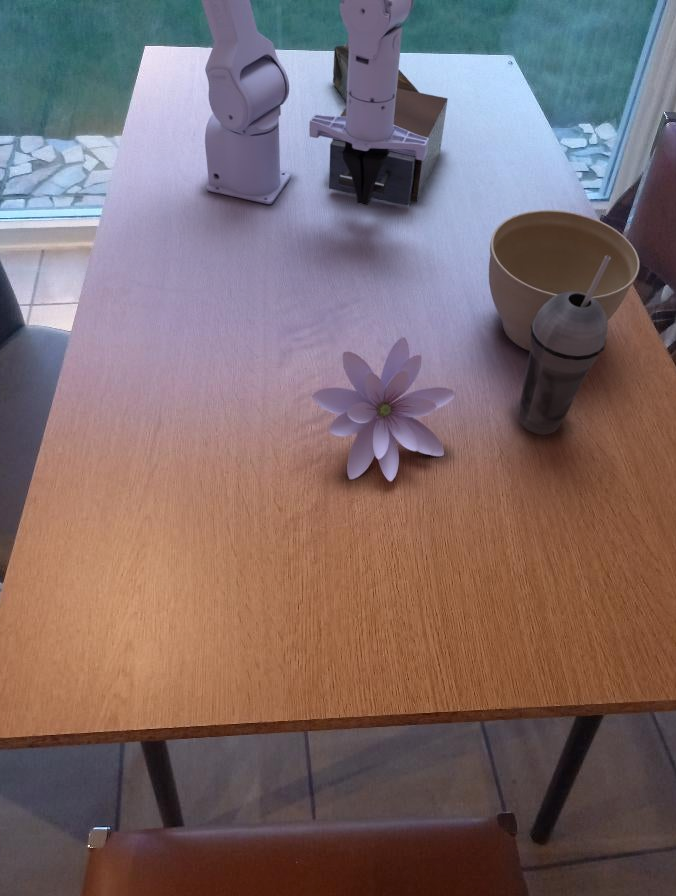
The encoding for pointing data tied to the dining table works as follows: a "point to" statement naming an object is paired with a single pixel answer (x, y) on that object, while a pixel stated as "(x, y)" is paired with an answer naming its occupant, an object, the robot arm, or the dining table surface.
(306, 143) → the dining table surface
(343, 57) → the beverage carton
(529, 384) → the beverage cup
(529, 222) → the planter bowl
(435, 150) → the cabinet
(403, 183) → the drawer
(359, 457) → the water lily
